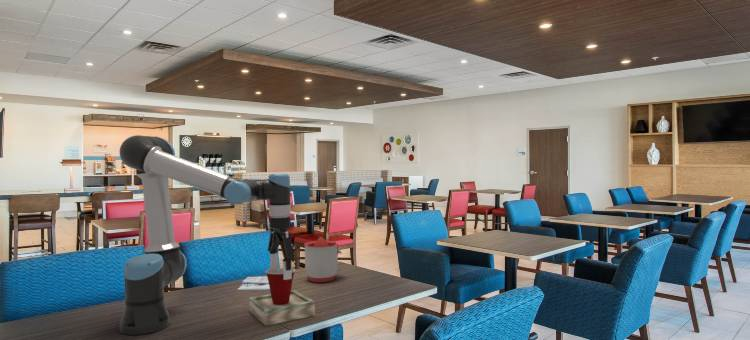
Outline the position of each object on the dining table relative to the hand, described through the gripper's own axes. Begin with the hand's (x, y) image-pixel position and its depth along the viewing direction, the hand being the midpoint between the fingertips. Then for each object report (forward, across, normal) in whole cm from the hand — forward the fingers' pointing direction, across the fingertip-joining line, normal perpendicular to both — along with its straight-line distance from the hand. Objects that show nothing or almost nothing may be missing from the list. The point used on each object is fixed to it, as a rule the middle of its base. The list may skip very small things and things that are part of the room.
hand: (280, 275), depth 165 cm
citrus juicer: (+14, +34, -33) cm, 49 cm away
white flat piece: (+15, +43, -7) cm, 46 cm away
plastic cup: (+10, 0, 0) cm, 10 cm away
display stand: (+14, 0, 0) cm, 14 cm away
